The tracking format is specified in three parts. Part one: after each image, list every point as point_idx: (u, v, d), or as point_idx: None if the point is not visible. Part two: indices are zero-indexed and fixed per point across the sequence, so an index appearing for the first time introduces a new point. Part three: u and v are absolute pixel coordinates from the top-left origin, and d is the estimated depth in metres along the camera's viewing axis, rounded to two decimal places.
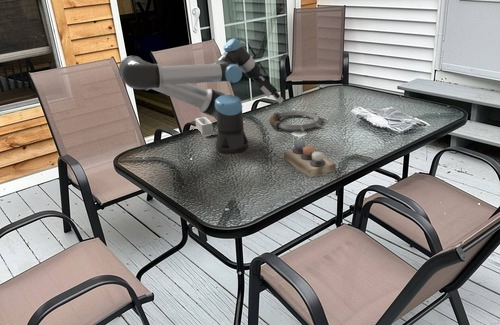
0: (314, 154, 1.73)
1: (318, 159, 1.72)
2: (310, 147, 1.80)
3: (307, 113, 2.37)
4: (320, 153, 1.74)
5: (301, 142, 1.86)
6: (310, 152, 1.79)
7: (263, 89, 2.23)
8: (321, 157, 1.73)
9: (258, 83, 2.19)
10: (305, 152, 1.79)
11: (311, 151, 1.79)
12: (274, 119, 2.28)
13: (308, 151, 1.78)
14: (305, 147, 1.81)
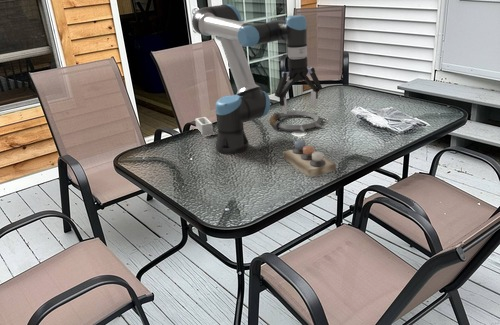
0: (314, 154, 1.73)
1: (318, 159, 1.72)
2: (310, 147, 1.80)
3: (307, 113, 2.37)
4: (320, 153, 1.74)
5: (301, 142, 1.86)
6: (310, 152, 1.79)
7: (312, 94, 1.83)
8: (321, 157, 1.73)
9: (306, 82, 1.80)
10: (305, 152, 1.79)
11: (311, 151, 1.79)
12: (274, 119, 2.28)
13: (308, 151, 1.78)
14: (305, 147, 1.81)
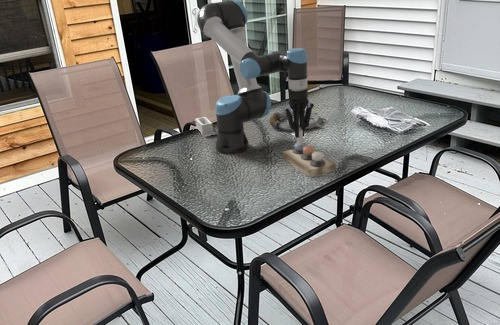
0: (314, 154, 1.73)
1: (318, 159, 1.72)
2: (310, 147, 1.80)
3: None
4: (320, 153, 1.74)
5: None
6: (310, 152, 1.79)
7: None
8: (321, 157, 1.73)
9: (299, 116, 1.83)
10: (305, 152, 1.79)
11: (311, 151, 1.79)
12: (274, 119, 2.28)
13: (308, 151, 1.78)
14: (305, 147, 1.81)
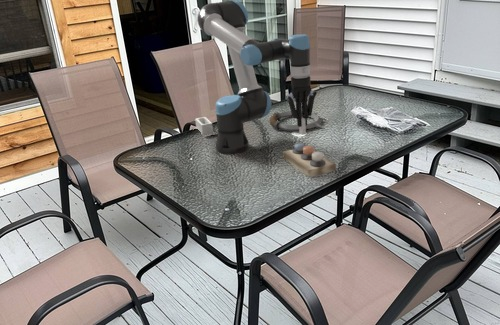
0: (314, 154, 1.73)
1: (318, 159, 1.72)
2: (310, 147, 1.80)
3: None
4: (320, 153, 1.74)
5: (301, 145, 1.87)
6: (310, 152, 1.79)
7: None
8: (321, 157, 1.73)
9: None
10: (305, 152, 1.79)
11: (311, 151, 1.79)
12: (274, 119, 2.28)
13: (308, 151, 1.78)
14: (305, 147, 1.81)
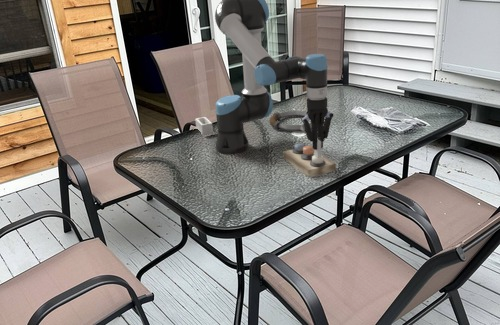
0: (314, 157, 1.74)
1: (318, 162, 1.73)
2: (310, 147, 1.80)
3: None
4: None
5: (301, 145, 1.87)
6: (310, 152, 1.79)
7: None
8: (321, 160, 1.73)
9: (317, 126, 1.71)
10: (305, 152, 1.79)
11: (311, 151, 1.79)
12: (274, 119, 2.28)
13: (308, 151, 1.78)
14: (305, 147, 1.81)
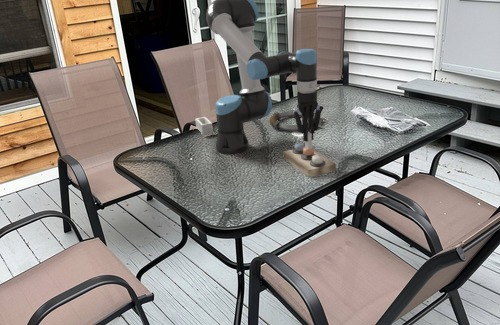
0: (314, 157, 1.74)
1: (318, 162, 1.73)
2: None
3: None
4: (320, 156, 1.75)
5: (301, 145, 1.87)
6: (310, 153, 1.79)
7: None
8: (321, 160, 1.73)
9: (308, 119, 1.77)
10: (305, 153, 1.79)
11: (311, 152, 1.79)
12: (274, 119, 2.27)
13: (308, 151, 1.79)
14: (305, 148, 1.81)
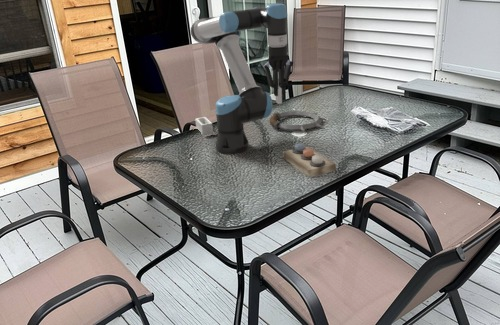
0: (314, 157, 1.74)
1: (318, 162, 1.73)
2: (310, 150, 1.81)
3: (307, 113, 2.37)
4: (320, 156, 1.75)
5: (301, 145, 1.87)
6: (310, 155, 1.79)
7: None
8: (321, 160, 1.73)
9: None
10: (305, 155, 1.80)
11: (311, 154, 1.79)
12: (274, 119, 2.27)
13: (308, 154, 1.79)
14: (305, 150, 1.81)
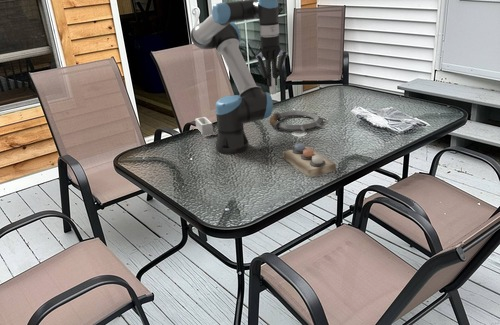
0: (314, 157, 1.74)
1: (318, 162, 1.73)
2: (310, 150, 1.81)
3: (306, 113, 2.37)
4: (320, 156, 1.75)
5: (301, 145, 1.87)
6: (310, 155, 1.79)
7: None
8: (321, 160, 1.73)
9: None
10: (305, 155, 1.80)
11: (311, 154, 1.79)
12: (274, 119, 2.27)
13: (308, 154, 1.79)
14: (305, 150, 1.81)
